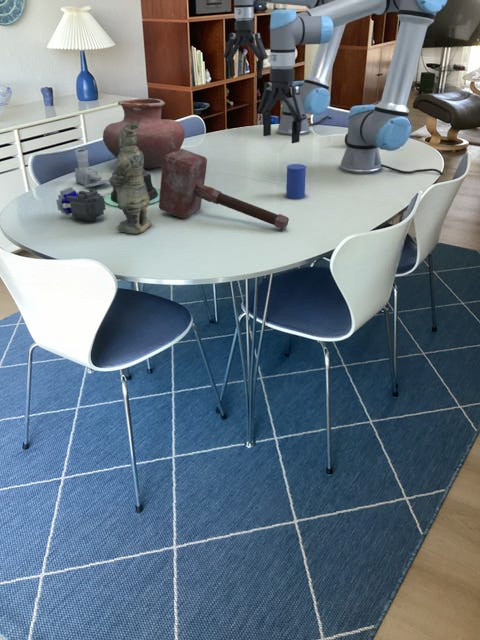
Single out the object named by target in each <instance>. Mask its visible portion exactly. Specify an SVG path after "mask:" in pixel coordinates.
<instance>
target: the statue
mask: <svg viewBox="0 0 480 640" xmlns="http://www.w3.org/2000/svg"><path fill="white" fill-rule="evenodd" d="M138 127H139V123H138V122H137V121H133V122H131V123H128V124H127V125H126V126H125V127H124V128H123V129H121V130H120V133H119V138H118V140H119V147H120V151H119V154H118V156H117V158H116V160H115V164H114V169H113V172H114V175H113V176H112V175H111V176H110V177H109V182H108V183H109V184H110V186H111V187H112V188H113V187H114V188H115V189H116V192H117V202H118V206H117V209H119V210H122V213H123V214H124V215H125V218H126V219H125V220H122V221H120V222H119V224H118V225H117V231H118V232H121V233H126V234H134V235H136V234H142V233H143V232H145V231H146V230H147V229H148V228H150V227H151V226H152V225H153V223H152V220H150V219H148V216H147V214H148V213H147V212H148V211H147V209H148V206H149V205H150V197H149V195H148V192H147V188H146V184H145V182H144V178H143V169H144V168H143V166H144V156H143V153H142V151H141V150H139V149H138V147H137V146H136V143H137V138H136V131H137V130H138Z"/></svg>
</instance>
